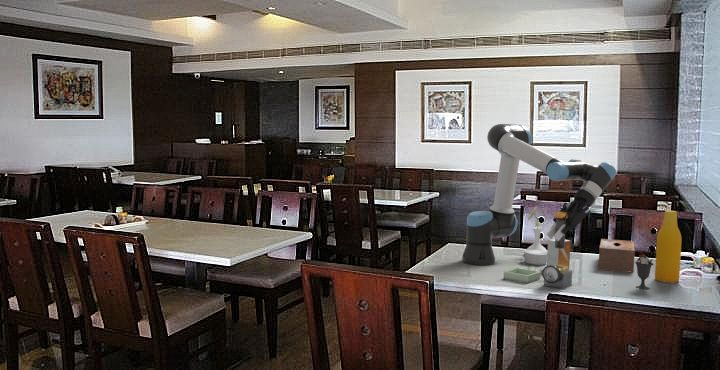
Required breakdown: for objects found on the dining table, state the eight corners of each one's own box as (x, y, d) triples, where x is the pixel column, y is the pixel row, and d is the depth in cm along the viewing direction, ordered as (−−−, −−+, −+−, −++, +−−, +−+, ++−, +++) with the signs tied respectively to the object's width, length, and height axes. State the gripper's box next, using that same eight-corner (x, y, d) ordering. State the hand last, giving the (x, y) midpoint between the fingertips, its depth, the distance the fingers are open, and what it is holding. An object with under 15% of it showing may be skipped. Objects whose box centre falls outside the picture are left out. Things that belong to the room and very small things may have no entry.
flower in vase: (529, 252, 315) (531, 203, 312) (551, 255, 308) (553, 205, 306) (519, 256, 304) (521, 206, 302) (542, 260, 297) (544, 208, 295)
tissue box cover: (600, 259, 303) (601, 238, 302) (632, 262, 297) (633, 241, 296) (598, 269, 279) (599, 247, 278) (633, 273, 273) (634, 250, 272)
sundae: (630, 286, 249) (631, 248, 248) (646, 285, 249) (648, 248, 248) (638, 290, 242) (640, 252, 241) (655, 290, 243) (657, 252, 242)
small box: (557, 271, 274) (559, 242, 273) (546, 268, 279) (547, 239, 278) (569, 269, 278) (571, 240, 277) (558, 266, 283) (559, 238, 282)
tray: (503, 278, 258) (503, 271, 258) (516, 274, 266) (516, 267, 266) (528, 283, 251) (528, 276, 251) (540, 278, 259) (540, 271, 259)
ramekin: (544, 266, 283) (545, 255, 283) (520, 263, 289) (520, 252, 289) (551, 262, 293) (551, 251, 292) (527, 259, 299) (528, 248, 298)
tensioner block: (540, 286, 246) (540, 264, 245) (552, 281, 254) (553, 260, 253) (559, 290, 240) (560, 267, 240) (571, 285, 249) (572, 263, 248)
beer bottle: (675, 278, 263) (679, 210, 260) (682, 283, 254) (686, 213, 251) (652, 277, 265) (655, 209, 262) (657, 282, 256) (661, 212, 253)
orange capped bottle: (551, 247, 247) (553, 212, 245) (556, 245, 250) (558, 211, 249) (562, 249, 244) (564, 213, 242) (567, 247, 247) (569, 212, 246)
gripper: (607, 203, 244) (572, 248, 239) (577, 198, 259) (543, 240, 254) (598, 190, 241) (561, 235, 236) (568, 186, 256) (533, 227, 251)
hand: (552, 237), depth 245 cm, fingers closed on orange capped bottle, 3 cm apart
